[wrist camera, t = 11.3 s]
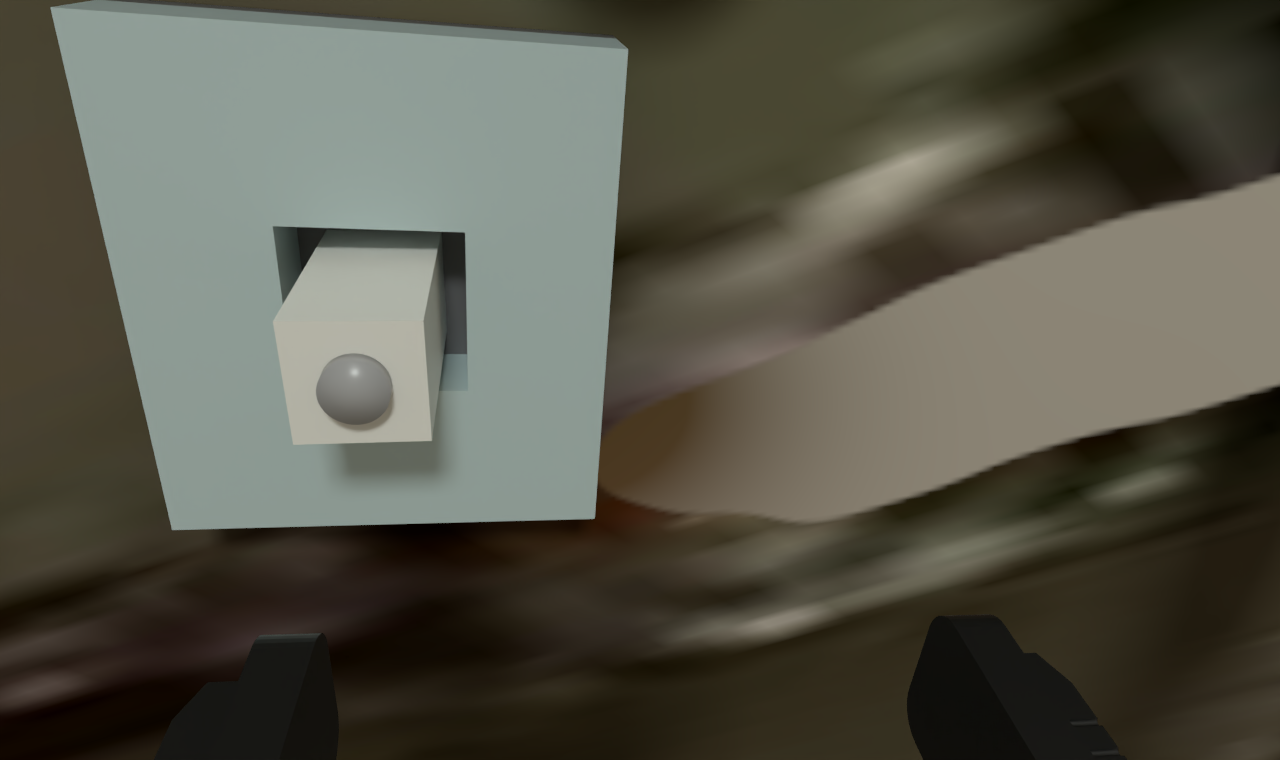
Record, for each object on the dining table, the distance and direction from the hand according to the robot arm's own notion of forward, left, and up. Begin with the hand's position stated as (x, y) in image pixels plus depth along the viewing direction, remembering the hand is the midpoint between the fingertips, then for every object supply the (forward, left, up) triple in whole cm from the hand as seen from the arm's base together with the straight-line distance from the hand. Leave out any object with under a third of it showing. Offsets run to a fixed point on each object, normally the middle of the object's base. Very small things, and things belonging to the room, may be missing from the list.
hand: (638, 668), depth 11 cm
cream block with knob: (+6, +3, -22) cm, 23 cm away
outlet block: (+6, +3, -23) cm, 24 cm away
